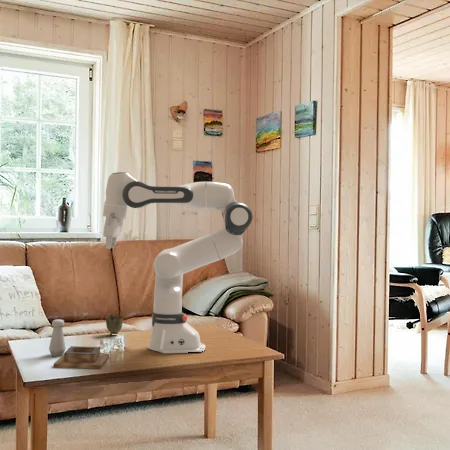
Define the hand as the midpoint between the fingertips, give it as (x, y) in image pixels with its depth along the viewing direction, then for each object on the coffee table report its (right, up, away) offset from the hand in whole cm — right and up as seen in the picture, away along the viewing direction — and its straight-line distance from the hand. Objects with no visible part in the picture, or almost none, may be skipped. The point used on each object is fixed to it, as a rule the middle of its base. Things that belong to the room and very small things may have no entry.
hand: (110, 248), depth 229 cm
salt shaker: (-17, -39, -15) cm, 45 cm away
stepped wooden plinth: (-5, -39, -23) cm, 46 cm away
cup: (-3, -39, +23) cm, 45 cm away
